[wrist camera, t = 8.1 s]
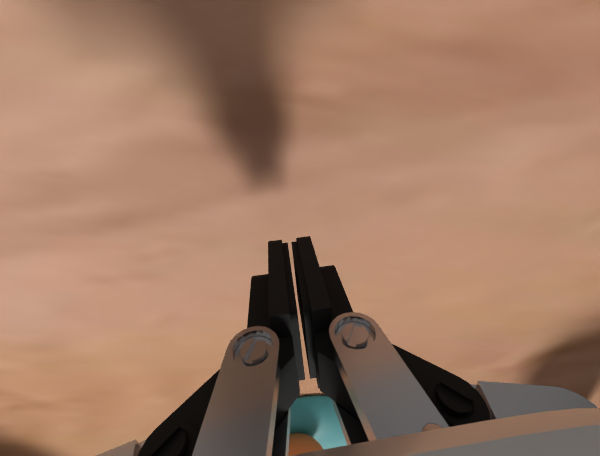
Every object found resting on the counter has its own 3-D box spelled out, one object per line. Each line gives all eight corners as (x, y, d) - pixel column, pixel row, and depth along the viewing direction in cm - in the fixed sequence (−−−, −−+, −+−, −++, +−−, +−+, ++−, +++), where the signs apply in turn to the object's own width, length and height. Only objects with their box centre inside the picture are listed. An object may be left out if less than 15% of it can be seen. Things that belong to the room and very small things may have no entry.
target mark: (371, 382, 22) (372, 384, 21) (366, 456, 28) (366, 459, 27) (212, 414, 20) (212, 416, 20) (243, 484, 26) (243, 487, 26)
